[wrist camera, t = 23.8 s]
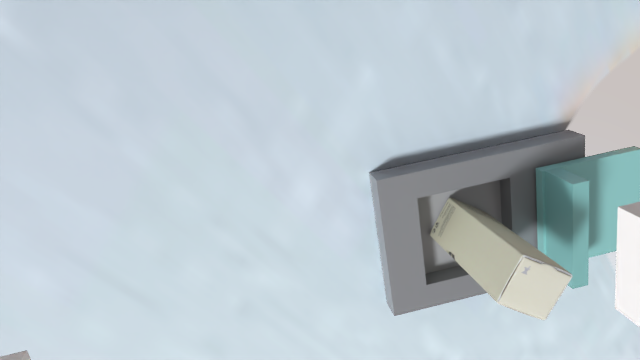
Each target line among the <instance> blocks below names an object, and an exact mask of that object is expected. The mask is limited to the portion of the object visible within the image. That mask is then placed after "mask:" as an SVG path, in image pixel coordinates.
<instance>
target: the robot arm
mask: <svg viewBox="0 0 640 360" xmlns="http://www.w3.org/2000/svg"><path fill="white" fill-rule="evenodd" d="M615 309H616V310H618V311H619V312H620V313H622V314H623V315H624V316H626V317H627V318H628V319H630V320H631V321H632V322H634V323H635V324H636V325H638V326H639V327H640V202H636V203H632V204H628V205H623V206H619V207H618V217H617V252H616V286H615ZM0 360H31V359H30V356H29V354H28V352H27V350H26V351H22V352H18V353H14V354H10V355H6V356H2V357H0Z"/></svg>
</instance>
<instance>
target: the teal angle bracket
mask: <svg viewBox="0 0 640 360" xmlns="http://www.w3.org/2000/svg"><path fill="white" fill-rule="evenodd" d="M536 200H537V240H538V250H539V251H541V252H542V253H544V254H545V255H546V256H548V257H549V258H550V259H552V260H553V261H555V262H556V263H557V264H559V265H560V266H562V267H563V268H564V269H566V270H567V271H568V272H569V273H571V274H572V276H573V277H572V278H571V280H570V282H569V283H568V286H570V287H571V288H572V289H574V288H578V287H582V286H586V285H588V258H589V257H594V256H598V255H602V254H606V253H610V252H613V251H617V217H618V207H619V206H623V205H628V204H632V203H636V202H640V148H638V147H635V146H633V147H629V148H624V149H620V150H615V151H611V152H606V153H602V154H597V155H593V156H589V157H584V158H579V159H575V160H570V161H566V162H561V163H557V164H552V165H548V166H543V167H539V168H536Z"/></svg>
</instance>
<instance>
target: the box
mask: <svg viewBox="0 0 640 360" xmlns="http://www.w3.org/2000/svg"><path fill="white" fill-rule="evenodd" d="M430 236H431V237H432V238H433V239H434V240H435V241H436V242H437V243H438V244H439V245H440V246H441V247H442V248H443V249H444V250H445V251H446V252H447V253H448V254H449V255H450V256H451V257H452V258H453V259H454V260H455V261H456V262H457V263H458V264H459V265H460V266H461V267H462V268H463V269H464V270H465V271H466V272H467V273H468V274H469V275H470V276H471V277H472V278H473V279H474V280H475V281H476V282H477V283H478V284H479V285H480V286H481V287H482V288H483V289H484V290H485V291H486V292H487V293H488V294H489V295H490V296H491V297H492V298H493V299H494V300H495V301H496V302H497V303H498V304H500V305H503V306H505V307H507V308H510V309H513V310H515V311H518V312H520V313H523V314H526V315H529V316H532V317H535V318H538V319H541V320H546V319H547V317H548V315H549V313H550V312H551V310H552V309H553V307H554V306H555V304H556V302H557V301H558V299H559V298H560V296H561V295H562V293H563V291H564V290H565V288H566V287H567V285H568V283H569V282H570V280H571V278H572V277H573V276H572V274H571V273H569V272H568V271H567V270H566V269H564V268H563V267H562V266H560V265H559V264H557V263H556V262H555V261H553V260H552V259H550V258H549V257H548V256H546V255H545V254H544V253H542V252H541V251H539V250H538V249H536V248H535V247H534V246H532V245H531V244H530V243H528V242H527V241H525V240H524V239H523V238H521V237H520V236H518V235H517V234H516V233H514V232H513V231H511V230H510V229H508V228H507V227H506V226H504V225H503V224H502V223H500V222H499V221H497V220H496V219H495V218H493V217H492V216H490V215H489V214H487V213H486V212H484V211H481V210H479V209H477V208H475V207H473V206H470V205H468V204H466V203H463V202H461V201H459V200H456V199H454V198H451V197H449V198H448V200H447V202H446V204H445V205H444V207H443V209H442V211H441V213H440V215H439V217H438V219H437V220H436V222H435V224H434V226H433V228H432V230H431V232H430Z"/></svg>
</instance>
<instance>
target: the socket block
mask: <svg viewBox="0 0 640 360" xmlns="http://www.w3.org/2000/svg"><path fill="white" fill-rule="evenodd" d="M584 157H585V135H582V134H579V133H576V132H573V131H570V130H566V131H561V132H556V133H552V134H547V135H542V136H538V137H533V138H529V139H524V140H519V141H515V142H510V143H505V144H501V145H496V146H491V147H487V148H482V149H477V150H473V151H468V152H463V153H459V154H454V155H449V156H445V157H440V158H435V159H431V160H426V161H422V162H417V163H412V164H408V165H403V166H398V167H394V168H389V169H384V170H380V171H375V172H370V173H369V175H370V183H371V190H372V197H373V205H374V212H375V219H376V227H377V234H378V241H379V249H380V256H381V263H382V270H383V278H384V285H385V292H386V300H387V304H388V306H389V307H390V309H391V311H392V313H393V314H394V316H396V315H400V314H404V313H408V312H412V311H416V310H420V309H424V308H428V307H432V306H436V305H440V304H444V303H448V302H452V301H456V300H460V299H464V298H468V297H472V296H476V295H480V294H484V293H487V292H486V291H485V290H484V289H483V288H482V287H481V286H480V285H479V284H478V283H477V282H476V281H475V280H474V279H473V278H472V277H471V276H470V275H469V274H468V273H467V272H466V271H465V270H464V269H463V268H462V267H461V266H460V265H459V264H458V263H457V262H456V261H455V260H454V259H453V258H452V257H451V256H450V255H449V254H448V253H447V252H446V251H445V250H444V249H443V248H442V247H441V246H440V245H439V244H438V243H437V242H436V241H435V240H434V239H433V238H432V237H431V236H430V232H431V230H432V228H433V226H434V224H435V222H436V220H437V219H438V217H439V215H440V213H441V211H442V209H443V207H444V205H445V204H446V202H447V200H448V198H449V197H451V198H454V199H456V200H459V201H461V202H463V203H466V204H468V205H470V206H473V207H475V208H477V209H479V210H481V211H484V212H486V213H487V214H489V215H490V216H492V217H493V218H495V219H496V220H497V221H499V222H500V223H502V224H503V225H504V226H506V227H507V228H508V229H510V230H511V231H513V232H514V233H516V234H517V235H518V236H520V237H521V238H523V239H524V240H525V241H527V242H528V243H530V244H531V245H532V246H534V247H535V248H536V249H538V240H537V200H536V168H539V167H543V166H548V165H552V164H557V163H561V162H566V161H570V160H575V159H579V158H584Z"/></svg>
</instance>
